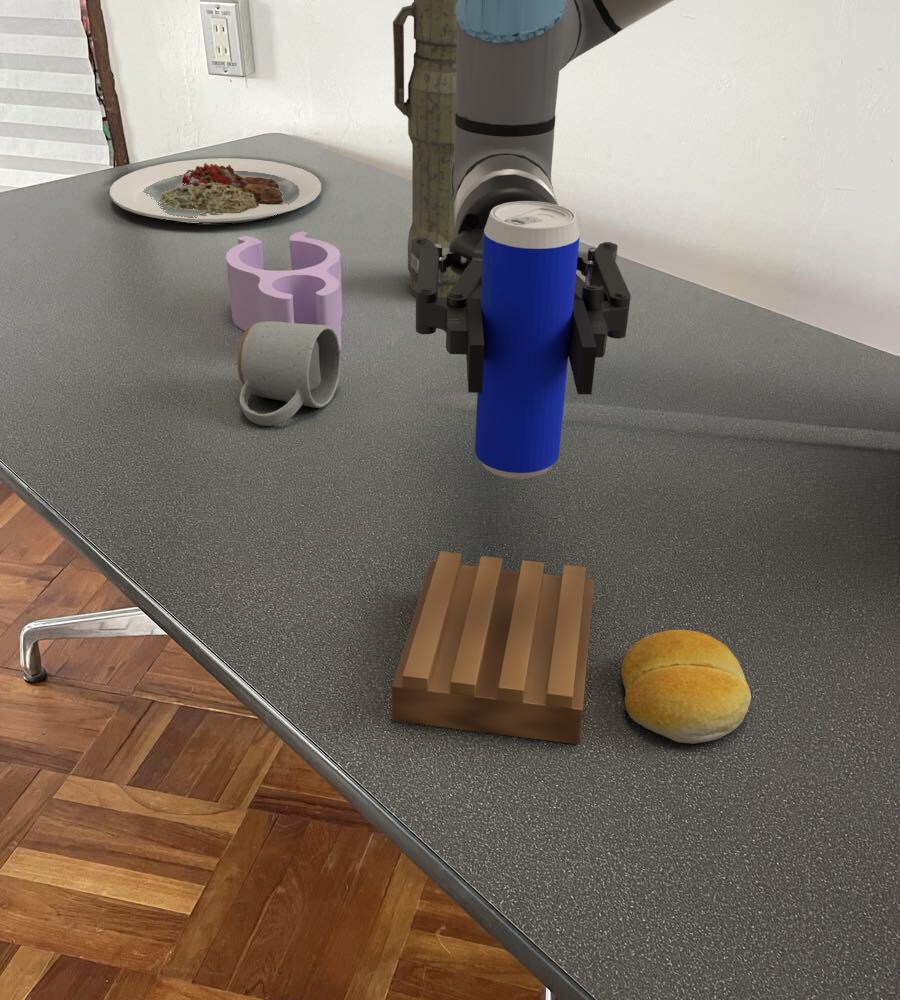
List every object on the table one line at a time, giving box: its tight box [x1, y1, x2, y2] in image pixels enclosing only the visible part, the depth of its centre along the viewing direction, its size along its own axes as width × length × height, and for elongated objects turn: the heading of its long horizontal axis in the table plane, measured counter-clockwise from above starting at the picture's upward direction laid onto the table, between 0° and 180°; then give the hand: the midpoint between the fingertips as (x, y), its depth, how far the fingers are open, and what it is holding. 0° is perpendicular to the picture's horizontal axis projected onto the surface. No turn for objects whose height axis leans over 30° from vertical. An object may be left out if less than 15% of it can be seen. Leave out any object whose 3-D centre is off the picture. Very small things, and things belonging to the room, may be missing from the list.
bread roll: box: [620, 629, 752, 744], centre depth 70 cm, size 8×9×4 cm
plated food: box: [109, 157, 322, 224], centre depth 155 cm, size 30×30×3 cm
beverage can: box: [474, 201, 581, 480], centre depth 62 cm, size 5×5×15 cm
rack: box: [391, 550, 595, 745], centre depth 73 cm, size 12×14×4 cm
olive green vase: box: [392, 0, 460, 298], centre depth 119 cm, size 9×12×35 cm
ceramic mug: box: [236, 321, 342, 427], centre depth 102 cm, size 11×8×8 cm
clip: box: [225, 231, 344, 352], centre depth 118 cm, size 20×12×7 cm, turn 17°
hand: (531, 369), depth 57 cm, fingers closed on beverage can, 5 cm apart
